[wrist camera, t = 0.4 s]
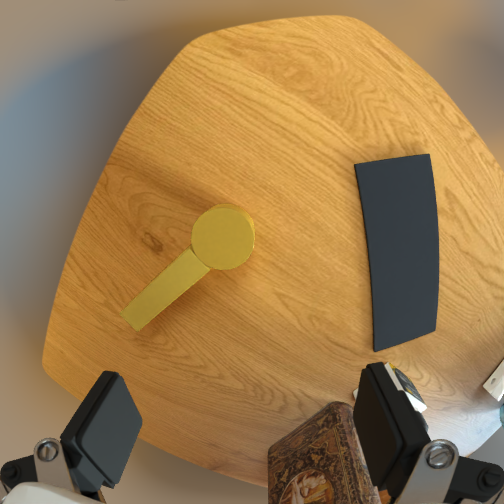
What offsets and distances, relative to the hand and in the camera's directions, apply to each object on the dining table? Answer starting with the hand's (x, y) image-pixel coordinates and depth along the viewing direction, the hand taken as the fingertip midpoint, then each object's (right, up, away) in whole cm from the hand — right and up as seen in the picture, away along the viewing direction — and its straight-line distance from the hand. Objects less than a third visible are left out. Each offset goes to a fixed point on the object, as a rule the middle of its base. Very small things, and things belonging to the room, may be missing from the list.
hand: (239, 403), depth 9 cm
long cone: (+55, -15, +25) cm, 62 cm away
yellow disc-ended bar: (-7, +4, +21) cm, 23 cm away
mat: (+19, +5, +20) cm, 28 cm away
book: (+10, -24, +29) cm, 39 cm away
